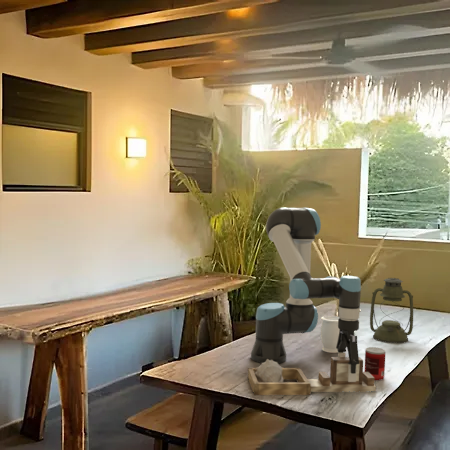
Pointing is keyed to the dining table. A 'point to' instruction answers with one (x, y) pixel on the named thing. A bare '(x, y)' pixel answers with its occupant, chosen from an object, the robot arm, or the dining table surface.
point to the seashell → (269, 372)
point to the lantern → (389, 328)
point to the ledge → (326, 386)
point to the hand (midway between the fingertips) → (346, 375)
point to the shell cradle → (281, 383)
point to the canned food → (375, 362)
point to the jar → (329, 333)
